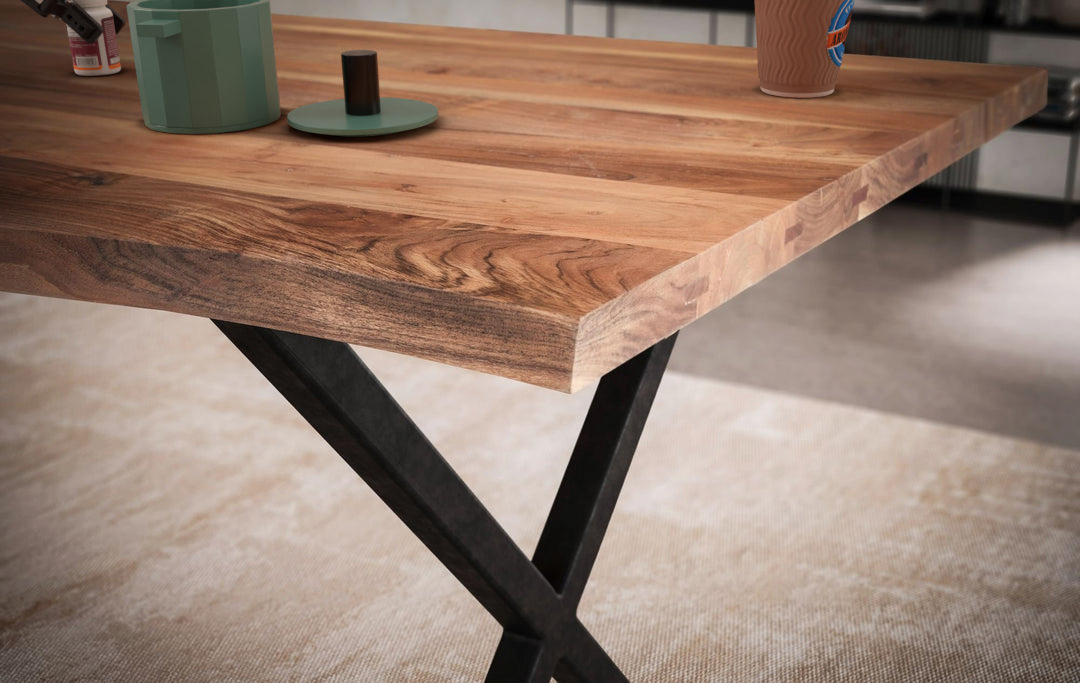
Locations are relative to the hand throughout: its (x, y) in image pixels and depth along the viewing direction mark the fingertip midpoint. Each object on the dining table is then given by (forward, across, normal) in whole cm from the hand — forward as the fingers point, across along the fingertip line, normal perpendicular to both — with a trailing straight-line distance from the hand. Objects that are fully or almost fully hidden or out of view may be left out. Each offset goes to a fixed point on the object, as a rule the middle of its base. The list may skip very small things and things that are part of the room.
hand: (108, 32), depth 122 cm
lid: (+26, -23, -20) cm, 40 cm away
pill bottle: (+2, 0, +4) cm, 5 cm away
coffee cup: (+53, -7, -47) cm, 71 cm away
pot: (+16, -22, -10) cm, 29 cm away
